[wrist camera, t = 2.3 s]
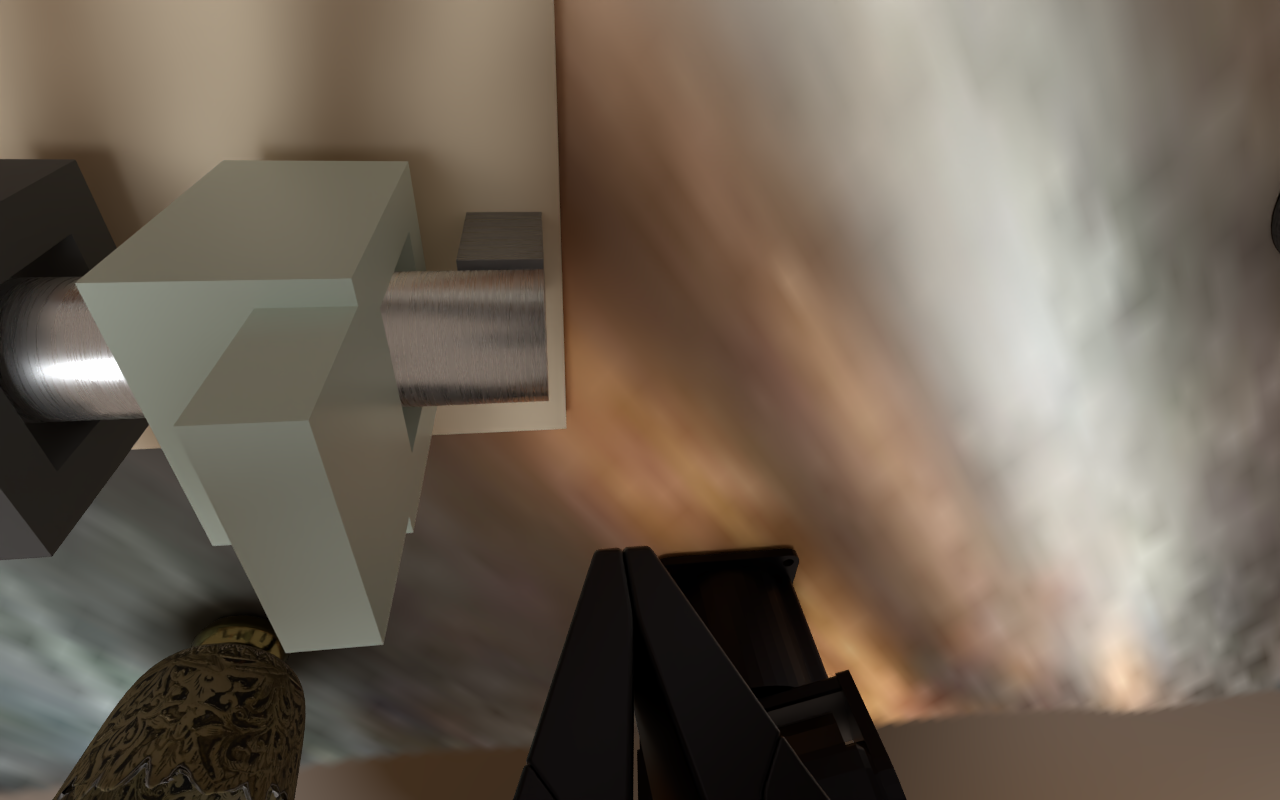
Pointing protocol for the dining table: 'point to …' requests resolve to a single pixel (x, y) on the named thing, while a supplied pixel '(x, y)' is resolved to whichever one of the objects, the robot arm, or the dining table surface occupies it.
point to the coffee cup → (1276, 226)
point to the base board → (302, 115)
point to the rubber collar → (3, 444)
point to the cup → (202, 725)
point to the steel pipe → (411, 311)
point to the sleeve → (280, 378)
